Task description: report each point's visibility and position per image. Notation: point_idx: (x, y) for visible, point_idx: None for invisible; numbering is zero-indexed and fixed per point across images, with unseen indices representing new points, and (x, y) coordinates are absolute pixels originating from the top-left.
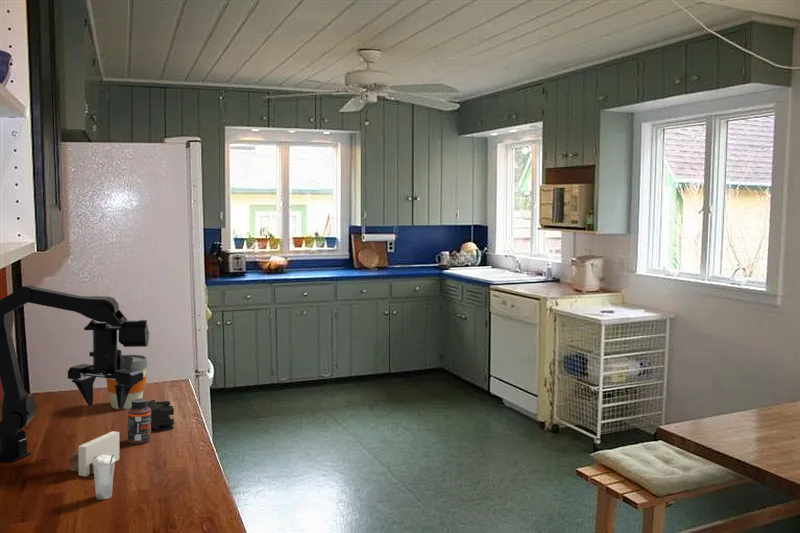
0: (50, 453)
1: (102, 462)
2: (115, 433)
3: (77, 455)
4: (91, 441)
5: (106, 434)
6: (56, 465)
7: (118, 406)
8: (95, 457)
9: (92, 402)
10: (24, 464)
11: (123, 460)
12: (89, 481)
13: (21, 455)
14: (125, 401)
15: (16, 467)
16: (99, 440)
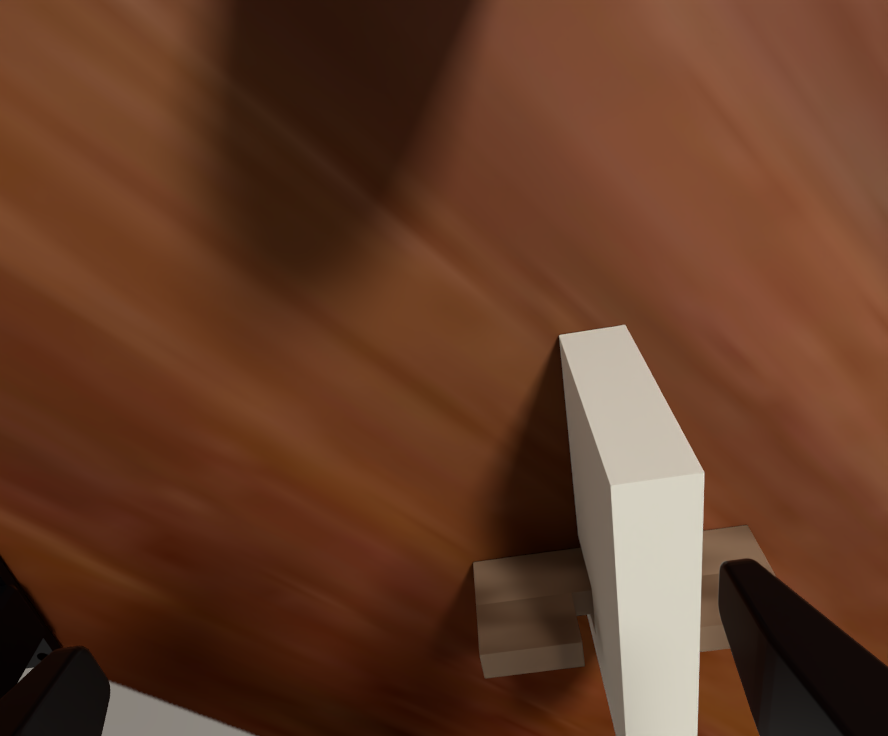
0: (66, 471)
1: None
2: (693, 515)
3: (545, 668)
4: (643, 713)
5: (629, 570)
6: (327, 573)
7: (751, 687)
8: (701, 650)
9: (60, 683)
10: (155, 634)
11: (669, 323)
12: None
13: (36, 624)
14: (873, 660)
15: (170, 670)
16: (689, 678)
